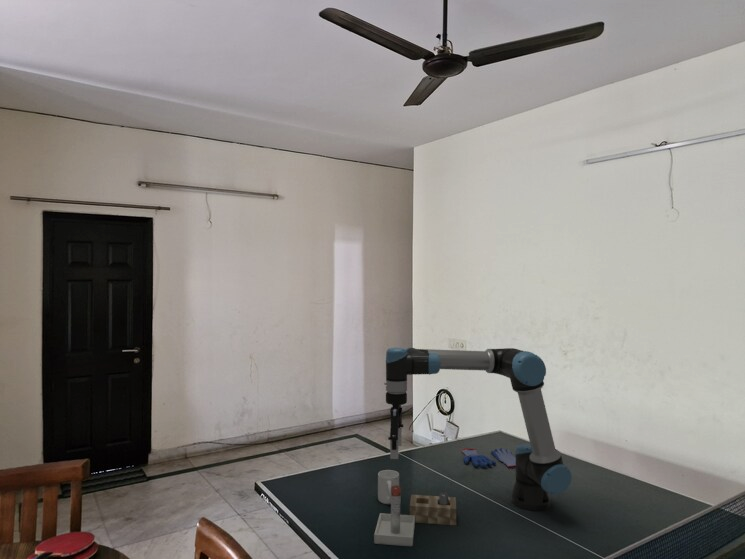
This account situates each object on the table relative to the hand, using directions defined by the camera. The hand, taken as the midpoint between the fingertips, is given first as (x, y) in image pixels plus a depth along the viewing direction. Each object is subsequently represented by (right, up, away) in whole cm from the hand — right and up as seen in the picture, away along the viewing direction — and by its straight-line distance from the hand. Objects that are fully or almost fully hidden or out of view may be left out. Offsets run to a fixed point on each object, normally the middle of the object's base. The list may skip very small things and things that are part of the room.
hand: (396, 452), depth 175 cm
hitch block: (+15, -29, +12) cm, 34 cm away
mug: (-2, -29, +25) cm, 39 cm away
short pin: (+19, -29, +11) cm, 36 cm away
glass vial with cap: (0, -28, 0) cm, 28 cm away
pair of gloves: (+52, -31, +74) cm, 96 cm away
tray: (0, -29, 0) cm, 29 cm away
